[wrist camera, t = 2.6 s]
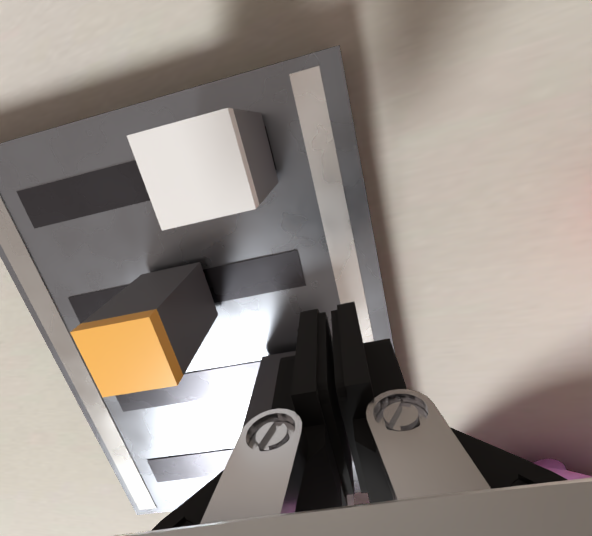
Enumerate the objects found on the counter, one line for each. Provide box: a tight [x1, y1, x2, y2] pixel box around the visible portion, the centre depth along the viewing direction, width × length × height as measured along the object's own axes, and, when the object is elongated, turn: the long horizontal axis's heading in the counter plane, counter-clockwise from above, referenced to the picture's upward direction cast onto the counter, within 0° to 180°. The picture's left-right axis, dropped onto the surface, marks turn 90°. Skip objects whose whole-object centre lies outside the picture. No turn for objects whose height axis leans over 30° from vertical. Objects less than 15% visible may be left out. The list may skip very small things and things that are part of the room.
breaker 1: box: [127, 108, 279, 231], centre depth 13 cm, size 3×3×5 cm
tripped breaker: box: [70, 262, 218, 397], centre depth 16 cm, size 3×3×5 cm
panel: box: [0, 45, 395, 515], centre depth 21 cm, size 18×23×2 cm
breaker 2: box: [241, 351, 296, 431], centre depth 17 cm, size 3×3×5 cm
